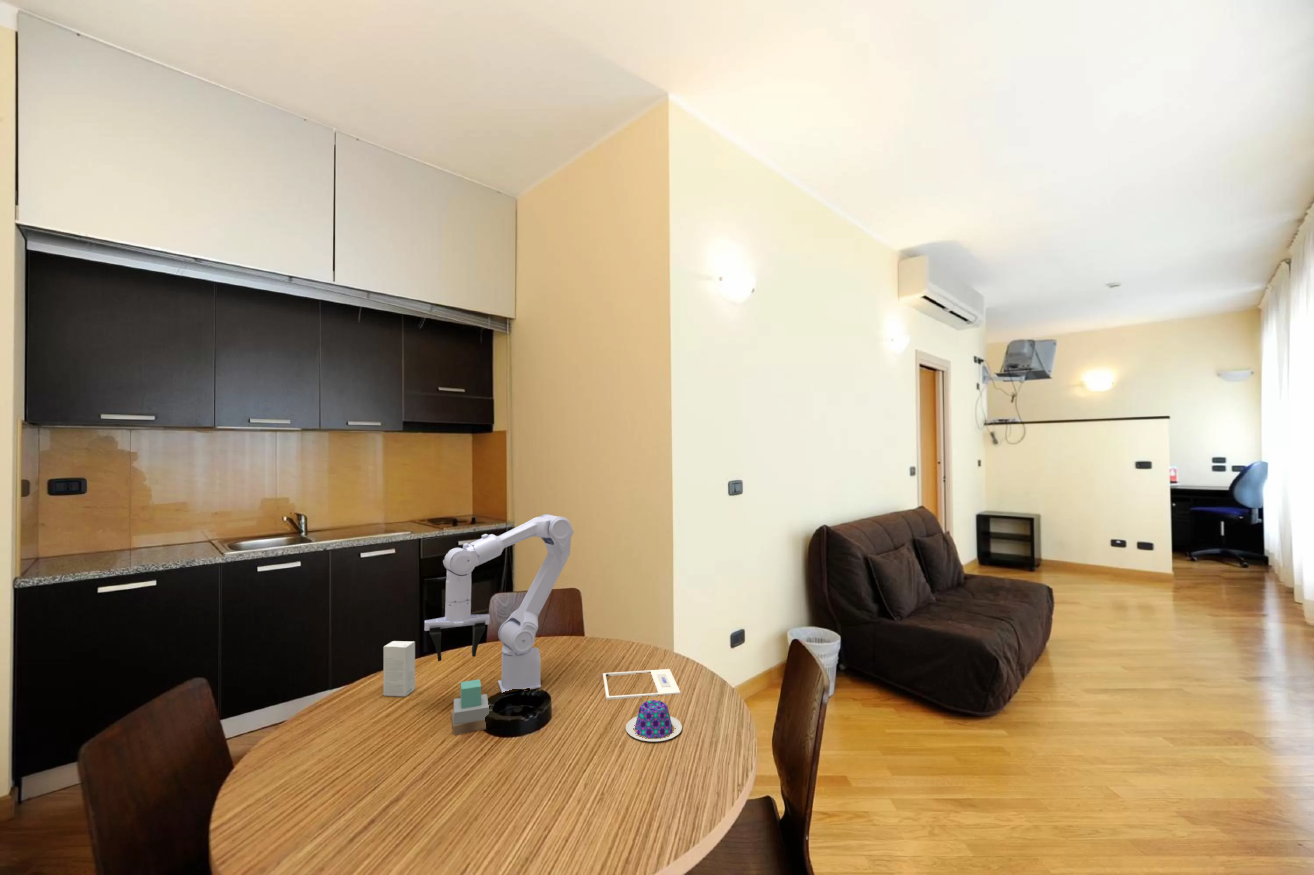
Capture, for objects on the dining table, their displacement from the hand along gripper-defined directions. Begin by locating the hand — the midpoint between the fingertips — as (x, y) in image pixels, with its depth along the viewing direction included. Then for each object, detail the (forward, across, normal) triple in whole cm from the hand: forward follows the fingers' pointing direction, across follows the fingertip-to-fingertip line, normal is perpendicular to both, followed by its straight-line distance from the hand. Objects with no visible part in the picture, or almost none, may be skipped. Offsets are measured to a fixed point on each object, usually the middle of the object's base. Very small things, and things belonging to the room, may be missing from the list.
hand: (456, 657), depth 130 cm
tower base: (+11, +3, -12) cm, 17 cm away
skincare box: (+11, -12, +11) cm, 20 cm away
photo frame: (+10, +44, -9) cm, 46 cm away
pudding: (+10, +38, -31) cm, 50 cm away
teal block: (+6, +2, -12) cm, 14 cm away
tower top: (+8, +2, -12) cm, 15 cm away
